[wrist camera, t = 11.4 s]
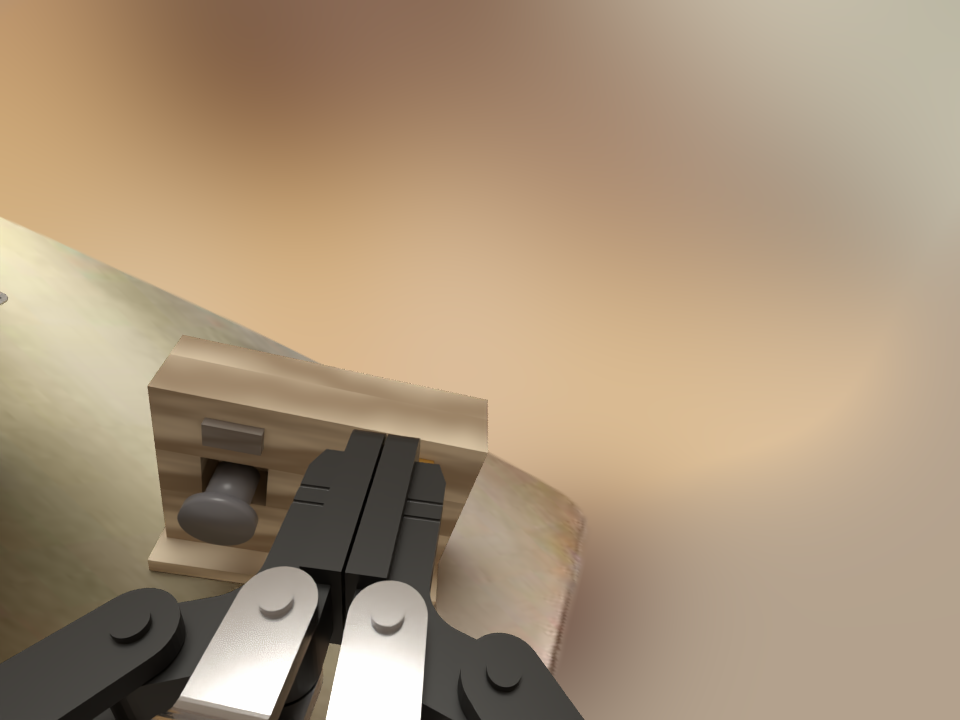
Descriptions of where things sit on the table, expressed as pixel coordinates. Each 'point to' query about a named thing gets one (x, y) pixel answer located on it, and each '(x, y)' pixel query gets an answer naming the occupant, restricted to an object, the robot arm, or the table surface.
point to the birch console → (288, 440)
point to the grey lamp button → (223, 507)
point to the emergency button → (3, 298)
